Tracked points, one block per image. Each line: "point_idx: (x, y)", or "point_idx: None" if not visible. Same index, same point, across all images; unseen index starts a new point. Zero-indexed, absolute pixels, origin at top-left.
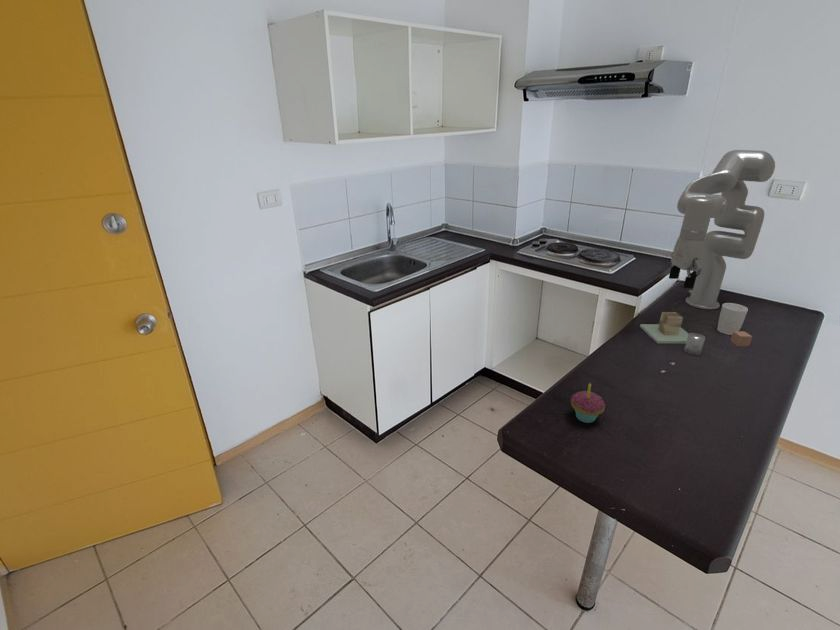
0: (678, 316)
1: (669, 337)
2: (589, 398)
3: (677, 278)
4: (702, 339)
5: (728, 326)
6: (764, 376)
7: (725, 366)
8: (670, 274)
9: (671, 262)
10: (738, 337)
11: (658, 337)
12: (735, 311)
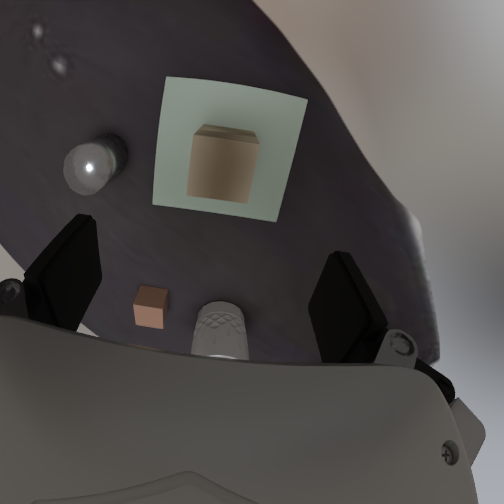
0: (200, 185)
1: (185, 130)
2: None
3: (309, 302)
4: (64, 174)
5: (201, 320)
6: (25, 239)
7: (46, 190)
8: (347, 272)
9: (403, 369)
10: (141, 301)
11: (190, 92)
12: None
